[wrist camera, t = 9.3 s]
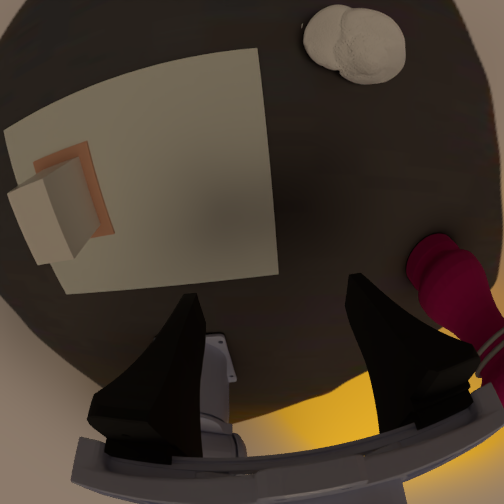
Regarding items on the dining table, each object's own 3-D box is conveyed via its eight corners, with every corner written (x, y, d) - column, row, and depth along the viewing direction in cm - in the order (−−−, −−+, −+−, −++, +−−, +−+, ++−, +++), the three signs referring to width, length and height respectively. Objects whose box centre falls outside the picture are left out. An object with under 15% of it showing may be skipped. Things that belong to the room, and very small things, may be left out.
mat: (278, 272, 25) (278, 274, 24) (67, 292, 25) (66, 294, 25) (256, 48, 15) (257, 47, 15) (5, 130, 15) (3, 130, 15)
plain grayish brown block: (78, 156, 17) (42, 178, 13) (100, 224, 21) (74, 259, 16) (43, 169, 17) (6, 193, 13) (65, 231, 21) (37, 265, 17)
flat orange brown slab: (115, 232, 21) (114, 234, 21) (62, 242, 22) (61, 243, 21) (87, 140, 17) (86, 141, 17) (34, 161, 17) (32, 162, 17)
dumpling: (391, 33, 14) (420, 27, 10) (381, 93, 17) (410, 97, 13) (299, 5, 13) (314, -12, 10) (289, 69, 16) (302, 64, 12)
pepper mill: (463, 228, 23) (579, 373, 6) (442, 283, 27) (525, 426, 10) (412, 227, 23) (542, 414, 6) (393, 288, 27) (475, 463, 10)
